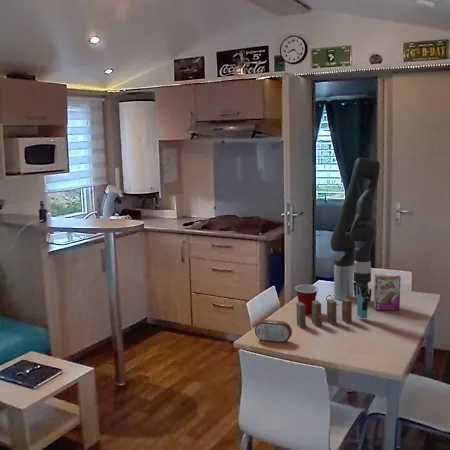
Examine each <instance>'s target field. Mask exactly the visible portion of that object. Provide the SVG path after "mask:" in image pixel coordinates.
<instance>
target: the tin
mask: <svg viewBox="0 0 450 450" xmlns="http://www.w3.org/2000/svg"><path fill="white" fill-rule="evenodd" d="M254 332H255V333H254V334H255V336H256V337H257V338H258V339H259V340H260V341H263V342H274V343H285V342H288V341H289V340H290V338H291V337H292V333H293V329H292V327H291V326H290V324H289V323H287V322H285V321H282V320H281V321H280V320H271V319H270V320H269V319H262V320H260V321H258V322H257V323H256V325H255V327H254Z"/></svg>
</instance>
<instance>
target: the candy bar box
mask: <svg viewBox="0 0 450 450" xmlns="http://www.w3.org/2000/svg"><path fill="white" fill-rule="evenodd" d="M373 290H374V295H373V299H374V301H373V308H374V310H375V311H400V309H401V308H400V307H401V306H400V305H401V303H400V302H401V275H400V274H398V273H397V274H395V273H394V274H393V273H392V274H391V273H388V274H387V273H384V274H381V273H379V274H378V273H375V274H374V289H373Z"/></svg>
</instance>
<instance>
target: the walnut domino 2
mask: <svg viewBox="0 0 450 450" xmlns="http://www.w3.org/2000/svg"><path fill="white" fill-rule="evenodd" d="M311 323H312V324H313V325H314V326H315V327H322V303H321V302H319V301H318V300H315V301H312V313H311Z"/></svg>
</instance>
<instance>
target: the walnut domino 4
mask: <svg viewBox="0 0 450 450" xmlns="http://www.w3.org/2000/svg"><path fill="white" fill-rule="evenodd" d="M352 307H353V304H352V299H348V298H342V300H341V321H343V322H344V323H345V324H352V321H353V319H352V318H353V317H352V316H353V314H352V311H353V310H352V309H353V308H352Z"/></svg>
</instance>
